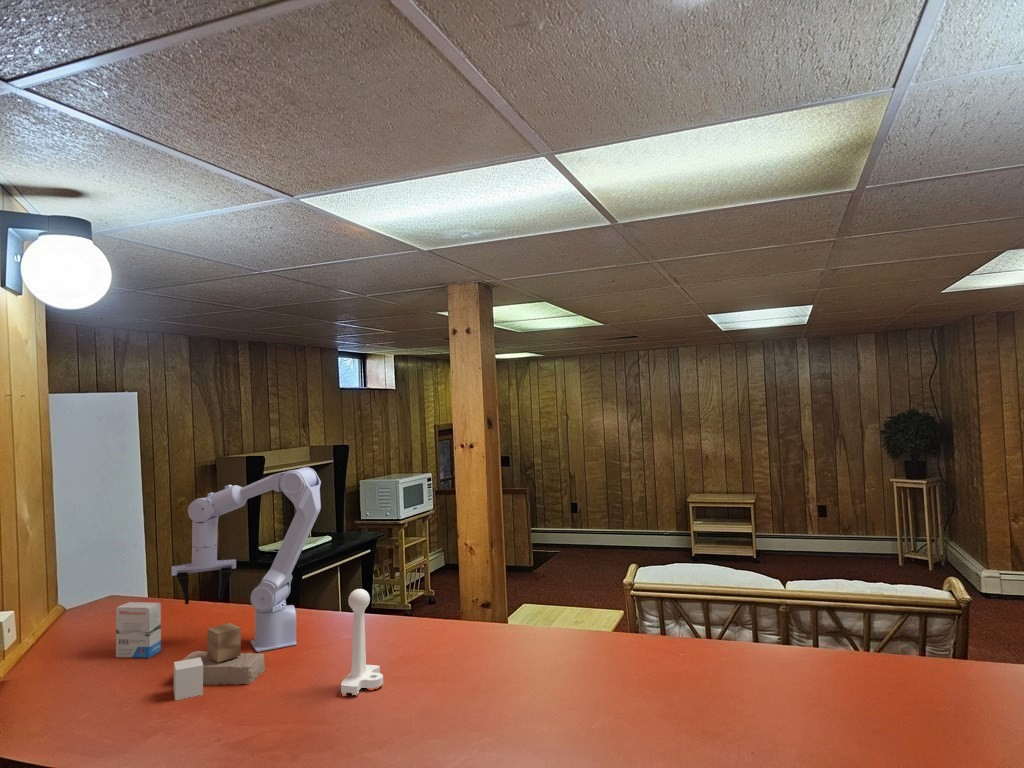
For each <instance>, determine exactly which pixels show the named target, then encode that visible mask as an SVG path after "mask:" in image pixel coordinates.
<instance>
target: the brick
mask: <svg viewBox="0 0 1024 768" xmlns="http://www.w3.org/2000/svg"><path fill="white" fill-rule="evenodd" d="M199 657H201V660H202V663H203V686H217V684H218V685H219V686H221V684H223V686H227V685H226V684H231V686H233V685H232V684H235V685H234V686H240V685H239V684H249V685H251V684H250V683H252V682H253V681H254V680H255V678H257V677H258V678H259V676H258V675H260V674H261V673H262V672H264V670H265V671H266V668H265V665H266V664H265V654H264V653H260V652H259V653H258V652H257V653H251V652H246V653H242V652H241V656H237V657H234V658H231V659H227V660H224V661H221V662H216V661H214V660H213V659H211V658H209V657H207V651H202V650H201V651H200V650H196V651H192V652H191V653H189V654H188V655H186V656H184V658H182V660H188V659H194V658H199ZM264 673H265V672H264ZM261 675H262V674H261ZM261 675H260V676H261ZM258 678H257V679H258ZM255 681H256V680H255ZM255 681H254V682H255ZM254 682H253V683H254ZM253 683H252V684H253ZM211 684H212V685H211Z"/></svg>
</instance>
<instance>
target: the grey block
mask: <svg viewBox="0 0 1024 768" xmlns="http://www.w3.org/2000/svg"><path fill="white" fill-rule="evenodd" d="M172 690H173V696H174V701H181V700H185V699H189V698H188V697H190V698H194V696H195V697H199V696H198V695H200V696H203V695H204V685H203V663H202V660H201V657H199V658H194V659H188V660H183V659H182V660H179V661H173V689H172ZM184 698H185V699H184Z"/></svg>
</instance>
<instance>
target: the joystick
mask: <svg viewBox="0 0 1024 768" xmlns="http://www.w3.org/2000/svg"><path fill="white" fill-rule="evenodd" d="M370 596H371V595H370V594H369V592H368V591H367V590H365V589H363V588H356V589H354V590H353V591H351V592H350V594H349V596H348V606H349V607H350V608H351V610H352V612H353V624H352V625H353V626H352V629H353V630H352V645H351V646H352V647H351V648H352V649H351V650H352V651H351V670H350V673H348V674H347V675H346V676H345V677H344V678H343V679H342V682H341V684H340V694H341V693H342V694H346V693H347V694H352V695H351V696H353V695H356V694H358V693H359V692H360V691H361V690H362V689H361V688H376V687H379V686H381V685H382V684H383V685H384V675H383V673H381V672H380V671H381V667H380V665H376V664H375V665H373V664H367V658H366V657H367V654H366V648H367V647H366V626H365V625H366V621H365V619H366V618H365V611H366V609H367V607H368V606H369V604H370V603H371V602H370V601H371V597H370ZM360 689H361V690H360ZM359 690H360V691H359ZM358 695H359V694H358ZM356 696H357V695H356Z"/></svg>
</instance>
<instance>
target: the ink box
mask: <svg viewBox="0 0 1024 768" xmlns="http://www.w3.org/2000/svg"><path fill="white" fill-rule="evenodd" d="M161 605H162V603H161V602H146V601H145V602H143V601H142V602H137V601H128V602H127V603H124V604H121V605H119V606H117V607H116V608H115V617H116V618H115V657H116V658H134V659H137V658H139V659H142V658H144V659H150V658H152V657H153V656H155V655H156V654H158V653H160V652H161V651H162V611H161V610H162V606H161Z"/></svg>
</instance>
